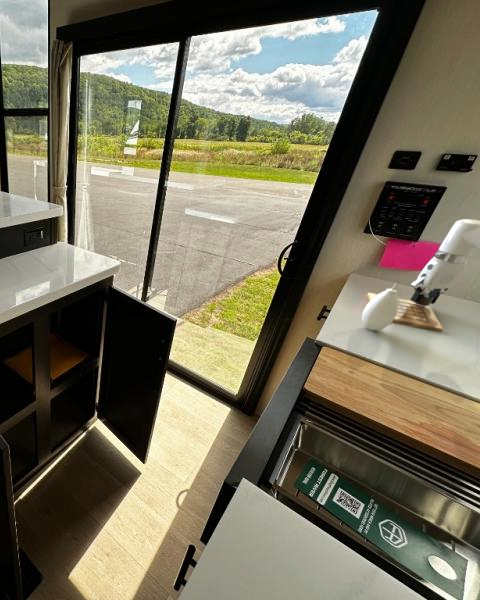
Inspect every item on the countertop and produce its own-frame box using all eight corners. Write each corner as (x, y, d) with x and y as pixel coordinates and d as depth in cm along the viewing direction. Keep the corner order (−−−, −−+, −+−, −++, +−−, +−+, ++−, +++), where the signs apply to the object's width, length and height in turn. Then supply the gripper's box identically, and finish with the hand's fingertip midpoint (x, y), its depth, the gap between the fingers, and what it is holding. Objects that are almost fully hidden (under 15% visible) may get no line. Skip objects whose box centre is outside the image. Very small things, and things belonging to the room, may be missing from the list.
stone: (427, 301, 118) (432, 293, 116) (430, 307, 115) (436, 299, 113) (411, 298, 120) (416, 290, 118) (414, 303, 117) (419, 296, 115)
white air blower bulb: (357, 331, 108) (382, 285, 98) (354, 319, 114) (378, 275, 104) (387, 338, 105) (416, 291, 95) (382, 325, 110) (409, 280, 101)
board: (426, 306, 119) (428, 303, 118) (441, 332, 106) (443, 329, 106) (366, 295, 127) (368, 292, 127) (373, 317, 114) (375, 314, 114)
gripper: (435, 261, 104) (407, 307, 114) (488, 260, 104) (455, 307, 114) (415, 252, 111) (390, 297, 120) (465, 251, 110) (435, 296, 120)
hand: (422, 301), depth 117 cm, fingers closed on stone, 4 cm apart
